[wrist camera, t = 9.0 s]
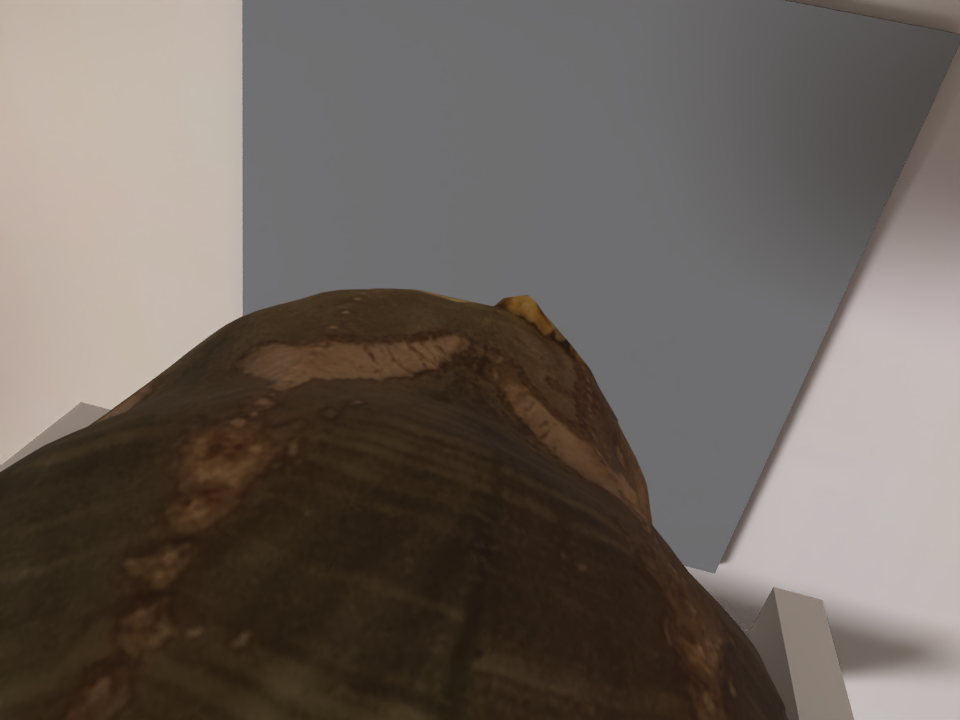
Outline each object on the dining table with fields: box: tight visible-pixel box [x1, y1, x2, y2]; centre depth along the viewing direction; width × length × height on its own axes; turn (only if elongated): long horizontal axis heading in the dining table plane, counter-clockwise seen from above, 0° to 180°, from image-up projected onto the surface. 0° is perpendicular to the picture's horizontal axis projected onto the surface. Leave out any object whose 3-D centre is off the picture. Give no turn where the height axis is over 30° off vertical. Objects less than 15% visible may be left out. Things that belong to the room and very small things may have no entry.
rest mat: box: [243, 0, 960, 573], centre depth 23 cm, size 18×18×1 cm
